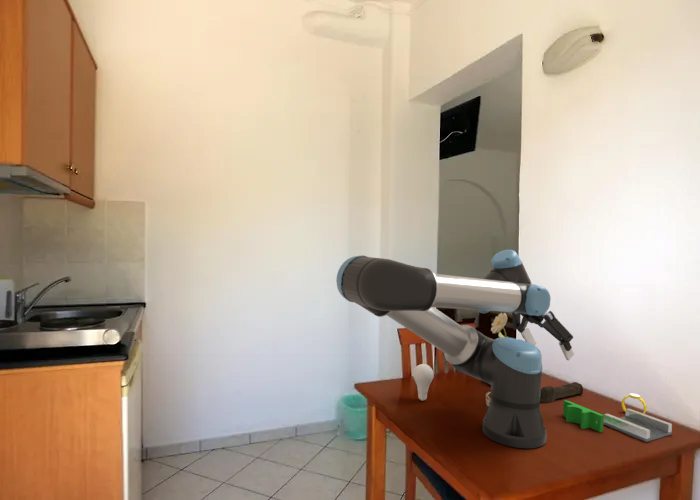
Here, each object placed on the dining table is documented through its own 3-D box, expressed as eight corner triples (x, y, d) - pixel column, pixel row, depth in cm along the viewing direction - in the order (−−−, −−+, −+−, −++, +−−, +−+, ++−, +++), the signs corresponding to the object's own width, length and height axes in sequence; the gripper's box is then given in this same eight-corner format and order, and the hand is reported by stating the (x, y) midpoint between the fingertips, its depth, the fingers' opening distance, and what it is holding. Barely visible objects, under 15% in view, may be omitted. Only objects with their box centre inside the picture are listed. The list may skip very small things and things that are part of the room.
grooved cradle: (645, 442, 109) (646, 431, 109) (603, 424, 119) (604, 414, 119) (671, 434, 114) (671, 423, 114) (628, 418, 124) (629, 408, 123)
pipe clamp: (556, 417, 123) (557, 401, 123) (565, 416, 125) (566, 400, 124) (593, 434, 113) (594, 416, 113) (603, 432, 114) (603, 414, 114)
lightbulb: (411, 402, 130) (412, 366, 130) (413, 395, 136) (414, 360, 136) (432, 405, 129) (433, 368, 128) (433, 398, 135) (434, 362, 134)
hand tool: (572, 392, 144) (572, 378, 144) (583, 396, 141) (584, 382, 141) (531, 400, 136) (532, 385, 136) (542, 405, 132) (543, 390, 132)
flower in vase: (484, 376, 157) (486, 307, 156) (518, 380, 154) (521, 310, 153) (483, 388, 145) (486, 313, 144) (520, 393, 141) (523, 316, 140)
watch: (646, 417, 125) (649, 397, 125) (643, 420, 123) (646, 400, 123) (622, 409, 129) (625, 390, 129) (619, 412, 128) (622, 392, 127)
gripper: (568, 295, 119) (595, 353, 125) (500, 284, 141) (525, 334, 147) (552, 312, 117) (580, 371, 123) (485, 299, 139) (512, 349, 145)
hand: (550, 351), depth 135 cm, fingers open, 13 cm apart
